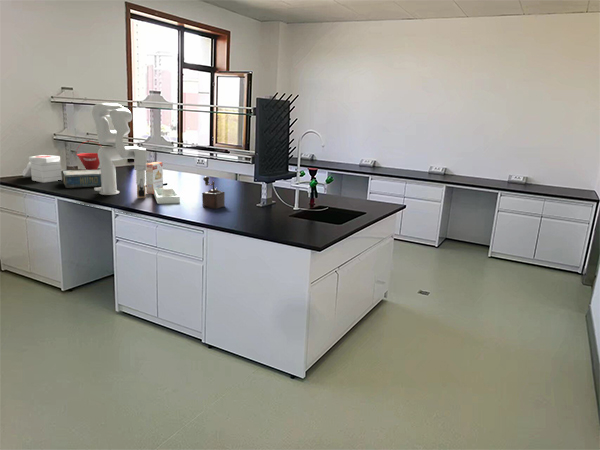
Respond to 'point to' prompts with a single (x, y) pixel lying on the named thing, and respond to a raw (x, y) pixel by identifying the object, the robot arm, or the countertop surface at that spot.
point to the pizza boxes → (44, 168)
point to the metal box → (82, 178)
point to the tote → (166, 199)
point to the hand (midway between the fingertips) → (141, 194)
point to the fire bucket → (89, 160)
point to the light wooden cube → (138, 192)
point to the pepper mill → (213, 197)
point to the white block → (167, 192)
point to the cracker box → (154, 176)
